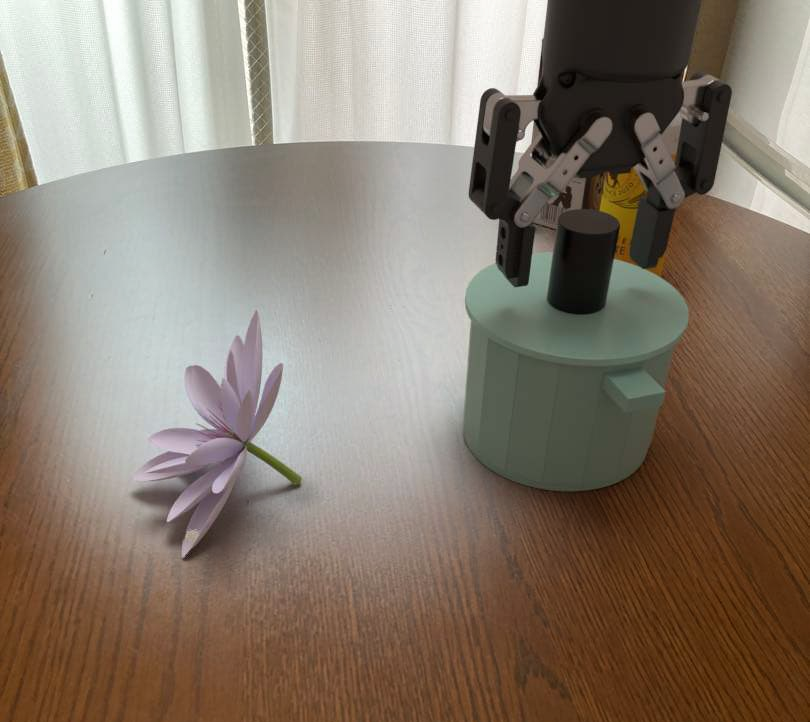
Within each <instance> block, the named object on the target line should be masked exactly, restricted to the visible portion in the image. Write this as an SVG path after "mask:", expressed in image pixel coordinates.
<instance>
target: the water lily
mask: <svg viewBox="0 0 810 722" xmlns="http://www.w3.org/2000/svg"><path fill="white" fill-rule="evenodd" d="M260 318H261V317H260V314H259V310H258V308H256V309H255V311H254V313H253V315H252V317H251V319H250V321H249V324H248V327H247V331H246V333H245V339H244V341H243V339H242V337H241V336H240V335H238V334H236V335H235V336H234V338H233V340H232V342H231V344H230V347H229V350H228V353H227V356H226V360H225V363H224V364H225V365H224V374H223V376H222V377H221V382H218V380H217V379H216V378H215V376H213V375H212V374H211V373H210V372H209V371H208V370H207V369H205V368H204V367H203V366H201V365H198V364H194V365H189V366H186V367H185V371H184V388H185V392H186V396H187V398H188V401H189V402H190V404H191V406H192V407H193V408H194V410H195V411H196V413H197V414H198V416H200V417H201V418H202V419H203V420H204V421H205V422H206V423H207V424H208V425H210V426H211V427H213V428H208V427H206V426H203V424H199V423H197V422H195V425H197V426H199V427H202V428H203V429H195V428H194V429H193V428H189V427H188V428H186V427H174V428H173V427H172V428H166V429H162V430H159V431H157V432H155V433H153V434H151V435H150V436H149V437H147V441H148V443H149V444H151V445H152V446H153V447H155V448H157V449H159V450H162V451H165V452H164V453H161V454H159V455H157V456H155V457H153V458H152V459H150V460H149V461H147V462H146V463H144V464H142V466H140V467H139V468H138V469H137V470H136V471H135V472H134V473H133V474H132V476H131V480H132V481H134V482H143V483H145V482H148V483H149V482H160V481H165V480H166V481H167V480H171V479H175V478H180V477H183V476H187V475H190V474H193V473H196V472H199V471H201V470H203V469H206V468H207V467H209V466H212V465H214V464H217V463H218V464H217V465H216V466H214V467H213V468H211V469H210V470H208V471H207V472H205V473H204V474H203V475H202V476H200V477H198V478H197V479H196V480H195V481H193V482H191V484H189V486H187V488H186V489H184V490H183V491H182V493H181V494H179V496H178V498H176V500H175V502H174V503H173V505H172V506H171V509H170V510H169V512H168V515H167V518H166V523H170V522H172V521H174V520H176V519H177V518H179V517H180V516H182V515H183V514H185V513H187V512H188V511H190V510H191V509H192V508H194V507H195V506H196V505H197V504H198V505H197V506H196V508H195V510H194V511H193V514H192V516H191V518H190V520H189V522H188V525H187V527H186V530H185V532H187V531H191V530H195V529H197V530H195V531H197V532H198V531H199V532H198V533H199V536H198V538H197V539H196V541H195V542H194V544H193V546H192V547H191V542H190V541H189V540H183V539H182V544H181V559H184V558H186V556H187V555H188V554H189V553H188V551H190V550H191V549H192V548H193V549H194V548H195V547H196V546H197V545H198V544H199V542H200V541H201V540H202V539H203V537H204V536H205V535H206V534H207V532H208V531H209V530H210V528H211V526H212V525H213V524H214V522H215V521H216V520H217V518H218V516H219V514H220V513H221V511H222V510H223V508H224V506H225V504H226V502H227V501H228V498H229V497H230V494H231V493H232V490H233V488H234V487H235V483H236V481H237V479H238V477H239V476H240V474H241V472H242V470H243V468H244V467H245V464H246V461H247V456H248V452H249V453H250V454H251V455H253V456H255V457H256V458H257V459H259V460H261V461H262V462H264V463H265V464H266V465H268V466H269V467H271V468H272V469H274V470H275V471H276V472H278V473H279V474H281V475H282V476H283V477H284V478H286V480H288V481H290V483H292V484H293V485H294V486H297V487H298V486H299V485H300V484H301V482H302V479H303V478H302V477H301V476H300V475H299V474H298V473H297V472H296V471H294V470H293V469H291V468H290V467H289V466H288V465H286V464H284V462H282V461H281V460H279V459H277V458H276V457H275V456H273V455H272V454H270V453H269V452H267V451H265V450H264V449H262V448H260V447H259V446H257V445H255V444H254V443H252V442H251V441H252V440H253V439H254V438H255V437H256V436H257V435H258V433H259V432H260V431H261V430H262V428H263V426H264V425H265V424H266V422H267V420H268V418H269V417H270V415H271V413H272V411H273V408H274V406H275V403H276V400H277V398H278V396H279V395H278V394H279V391H280V388H281V384H282V379H283V371H284V363H282V362H281V363H278V364H277V365H276V366H275V367H274V368H273V369H272V371H271V372H270V373H269V375H268V377H267V379H266V381H265V383H264V385H263V390H262V394H261V398H260V393H261V384H262V374H263V339H262V338H263V335H262V327H261V320H260ZM220 383H221V384H220ZM259 398H260V399H259ZM259 400H260V401H259ZM294 483H295V484H294ZM189 529H191V530H189ZM194 546H195V547H194ZM190 547H191V549H190ZM193 549H192V550H193ZM192 550H191V551H192ZM191 551H190V552H191ZM187 553H188V554H187ZM186 554H187V555H186ZM185 555H186V556H185Z"/></svg>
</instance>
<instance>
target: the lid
mask: <svg viewBox="0 0 810 722" xmlns="http://www.w3.org/2000/svg"><path fill="white" fill-rule="evenodd" d="M619 229H620V222H619V221H618V219H617V218H615V217H614V216H612V215H610V214H608V213H605V212H602V211H597V210H591V209H575V210H570V211H566V212H564V213H562V214H561V215H560V216H559V217H558V219H557V226H556V229H555V235H554V242H553V247H552V248H553V249H552V251H546V252H545V251H543V252H542V251H541V252H532V260H531V268H530V276H529V283H528V285H527V286H522V287H514V286H513V285H512V284H511V283H510V282H509V281H508V280H507V279H506V278H505V276H504V274H503V273H502V272H501V271H500V270H499V269H498V267H497V264H496V262H494V263H492V264H489V265H487V266H486V267H484V268H483V269H481V270H479V271H478V272H477V273H476V274H475V275H474V276H473V277H472V279H471V280H470V281H469V282H468V284H467V287H466V290H465V295H464V306H465V307H464V308H465V312H466V314H467V316H468V318H469V320H470V322H471V321H472V323H473V324H474V325H475V326H476V327H477V328H478V329H479V330H480V331H481V332H482V333H483V334H485V335H486V336H487V337H488V338H490V339H492V340H493V341H495V342H496V343H498V344H500V345H502V346H504V347H506V348H508V349H510V350H513V351H515V352H518V353H520V354H523V355H526V356H529V357H533V358H536V359H540V360H544V361H549V362H553V363H560V364H567V365H577V366H616V365H623V364H630V363H635V362H639V361H643V360H646V359H649V358H652V357H655V356H657V355H660V354H662V353H664V352H666V351H667V350H669V349H670V348H672V347H673V346H674V345H675V344H676V345H677V344H678V343H679V342H680V341H681V340H682V339H683V337H684V336H685V333H686V331H687V328H688V325H689V321H690V312H689V307H688V304H687V302H686V300H685V298H684V297H683V296H682V294H681V293H680V292H679V291H678V289H676V287H674V286H673V285H672V284H670V282H668V281H667V280H665V279H664V278H662V277H659V276H657V275H655V274H654V273H652V272H649V271H647V270H645V269H642V268H641V267H638V266H636V265H633V264H630V263H627V262H624V261H620V260H616V259H614V256H615V251H616V246H617V240H618V235H619ZM676 345H675V346H676Z"/></svg>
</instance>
